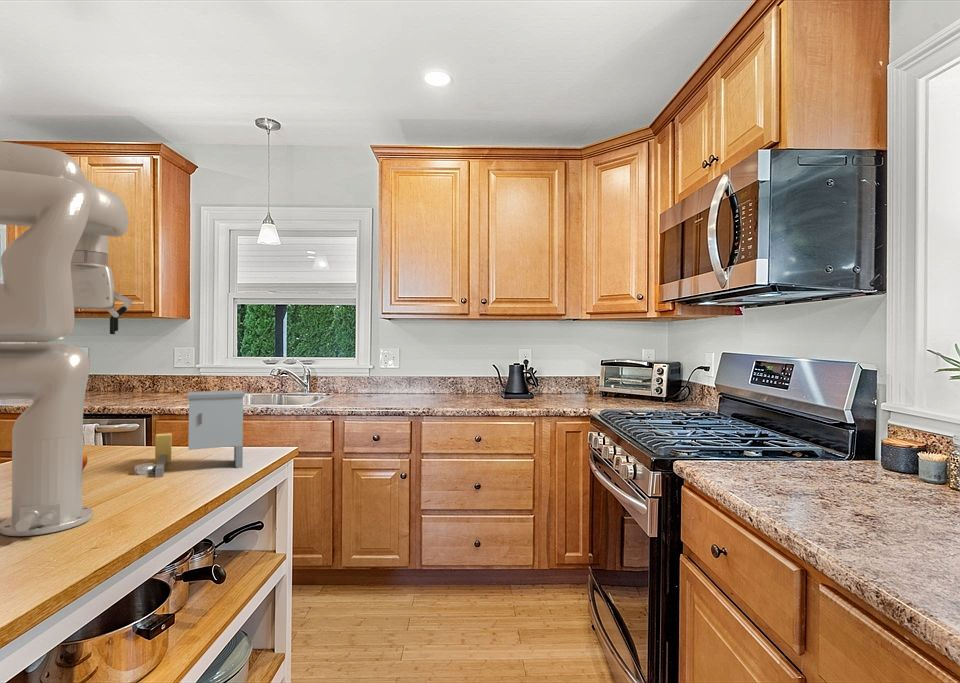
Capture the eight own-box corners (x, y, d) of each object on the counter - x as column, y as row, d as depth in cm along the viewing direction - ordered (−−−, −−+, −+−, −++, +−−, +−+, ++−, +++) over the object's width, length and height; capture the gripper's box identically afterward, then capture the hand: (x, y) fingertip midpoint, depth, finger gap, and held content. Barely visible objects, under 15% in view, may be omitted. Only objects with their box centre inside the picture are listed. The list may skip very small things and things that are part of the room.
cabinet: (243, 467, 131) (244, 393, 131) (186, 473, 125) (187, 395, 125) (241, 460, 139) (242, 390, 139) (187, 465, 133) (188, 391, 133)
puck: (156, 474, 124) (156, 466, 124) (133, 476, 122) (133, 468, 122) (157, 470, 128) (157, 462, 128) (135, 472, 126) (135, 464, 126)
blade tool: (167, 476, 122) (168, 446, 122) (150, 477, 121) (150, 447, 121) (171, 459, 139) (171, 433, 139) (156, 460, 137) (156, 434, 137)
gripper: (36, 255, 114) (35, 333, 114) (130, 262, 122) (129, 334, 122) (45, 259, 121) (44, 333, 121) (134, 265, 129) (133, 334, 129)
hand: (87, 333), depth 121 cm, fingers open, 9 cm apart
